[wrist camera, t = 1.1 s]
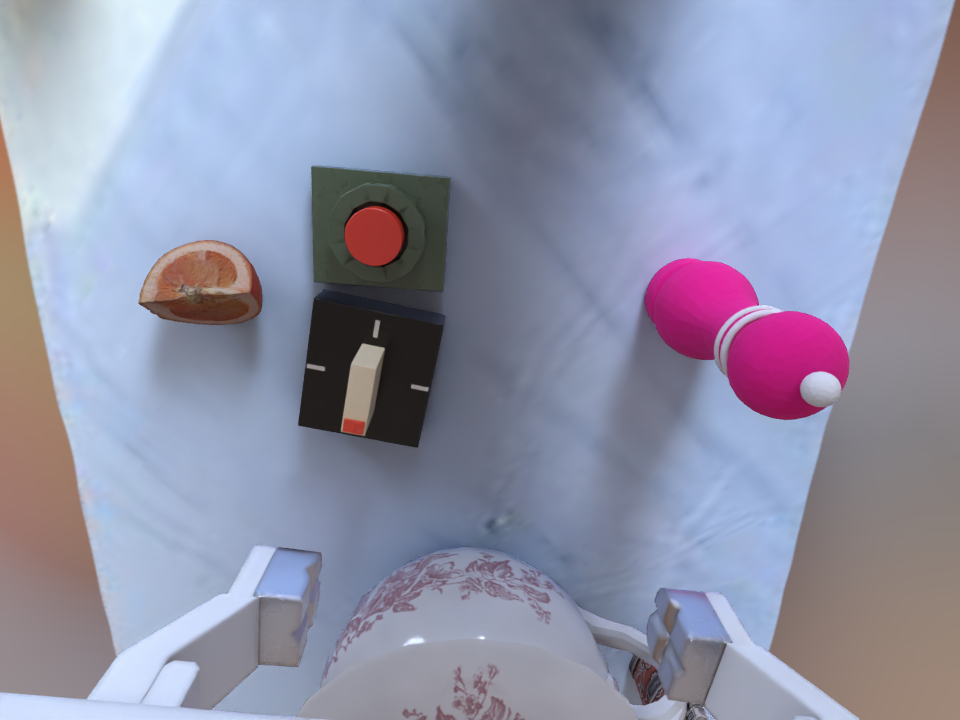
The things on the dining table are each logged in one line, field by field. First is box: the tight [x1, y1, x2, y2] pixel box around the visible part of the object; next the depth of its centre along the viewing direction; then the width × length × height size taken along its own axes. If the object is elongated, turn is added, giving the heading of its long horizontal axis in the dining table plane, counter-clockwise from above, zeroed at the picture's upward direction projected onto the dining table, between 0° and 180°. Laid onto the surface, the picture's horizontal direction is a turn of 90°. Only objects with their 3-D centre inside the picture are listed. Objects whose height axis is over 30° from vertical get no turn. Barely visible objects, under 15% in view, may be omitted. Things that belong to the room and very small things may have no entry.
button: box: [345, 206, 405, 266], centre depth 40 cm, size 4×4×2 cm
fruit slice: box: [139, 240, 262, 325], centre depth 42 cm, size 8×7×5 cm
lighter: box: [629, 655, 708, 720], centre depth 54 cm, size 8×3×10 cm, turn 157°
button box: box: [311, 166, 451, 292], centre depth 42 cm, size 10×8×4 cm
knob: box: [341, 344, 385, 436], centre depth 42 cm, size 6×2×5 cm, turn 167°
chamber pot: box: [297, 546, 687, 720], centre depth 47 cm, size 28×28×21 cm
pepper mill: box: [645, 258, 849, 420], centre depth 36 cm, size 7×7×20 cm
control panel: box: [298, 290, 445, 448], centre depth 46 cm, size 11×10×3 cm
